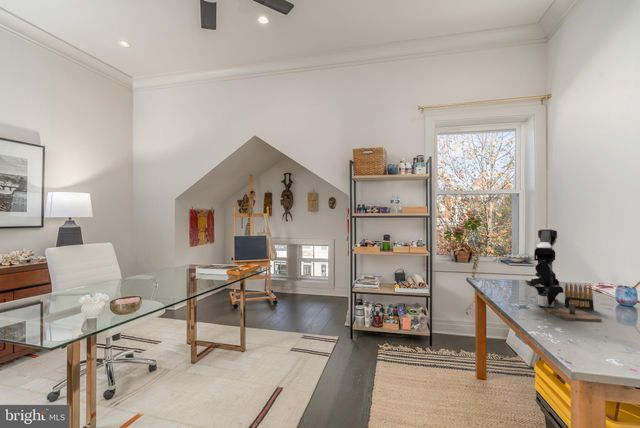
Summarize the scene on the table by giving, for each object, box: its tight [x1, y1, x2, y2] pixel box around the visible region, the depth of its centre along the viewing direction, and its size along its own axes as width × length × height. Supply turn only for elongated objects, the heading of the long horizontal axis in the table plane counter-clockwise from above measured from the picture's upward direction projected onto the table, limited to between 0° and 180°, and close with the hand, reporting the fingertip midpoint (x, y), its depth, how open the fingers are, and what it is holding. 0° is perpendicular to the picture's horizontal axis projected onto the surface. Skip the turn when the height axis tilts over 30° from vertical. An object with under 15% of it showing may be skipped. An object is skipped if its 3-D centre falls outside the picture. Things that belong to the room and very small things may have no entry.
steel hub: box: [537, 293, 555, 308], centre depth 147 cm, size 6×6×5 cm
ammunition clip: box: [564, 282, 595, 311], centre depth 144 cm, size 11×2×12 cm, turn 55°
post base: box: [545, 302, 603, 323], centre depth 134 cm, size 14×14×6 cm
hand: (545, 302), depth 147 cm, fingers closed on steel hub, 6 cm apart
